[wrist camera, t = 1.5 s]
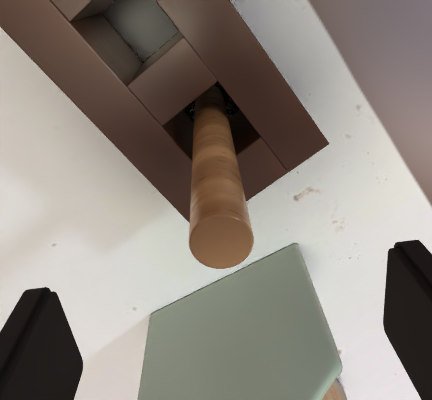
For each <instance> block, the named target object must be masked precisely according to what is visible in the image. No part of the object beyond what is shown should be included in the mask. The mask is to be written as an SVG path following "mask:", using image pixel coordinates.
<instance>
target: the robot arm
mask: <svg viewBox="0 0 432 400" xmlns="http://www.w3.org/2000/svg"><path fill="white" fill-rule="evenodd" d="M383 325H384V330H385V333H386V335H387V337H388V339H389V341H390V343H391V344H392V346H393V348H394V350H395V352H396V354H397V355H398V357H399V359H400V361H401V363H402V365H403V366H404V368H405V370H406V372H407V374H408V376H409V377H410V379H411V381H412V383H413V385H414V387H415V389H416V390H417V392H418V394H419V396H420V398H421V400H432V254H431V253H430V252H429V251H428V250H427V248H426V247H425V246H424V245H423V244H422V243H421V242H420V241H419V240H412V241H404V242H397V243H395V245H394V248H391V249H389V251H388V260H387V275H386V289H385V303H384V317H383ZM82 370H83V361H82V357H81V355H80V352H79V349H78V347H77V344H76V342H75V339H74V336H73V334H72V331H71V329H70V326H69V324H68V321H67V318H66V316H65V313H64V311H63V308H62V305H61V303H60V300H59V298H58V295H57V293H56V292H51V291H50V289H49V288H47V287H44V288H37V289H29V290H26V291H24V293H23V294H22V296H21V298H20V299H19V301H18V303H17V304H16V306H15V308H14V310H13V311H12V313H11V315H10V316H9V318H8V320H7V322H6V323H5V325H4V327H3V328H2V330H1V332H0V400H74V397H75V394H76V391H77V387H78V384H79V381H80V378H81V374H82Z"/></svg>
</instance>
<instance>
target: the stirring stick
mask: <svg viewBox="0 0 432 400" xmlns="http://www.w3.org/2000/svg"><path fill="white" fill-rule="evenodd" d="M253 242H254V238H253V232H252V228H251V223H250V218H249V214H248V209H247V204H246V200H245V195H244V190H243V186H242V181H241V176H240V172H239V167H238V162H237V158H236V153H235V148H234V144H233V139H232V134H231V130H230V125H229V120H228V116H227V111H226V106H225V102H224V97H223V94H222V92H221V90H220V89H219V88H218V87H216V86H214V85H212V86H211V87H210V88H209V89H208V90H206V91H205V92H204V93H203V94H201V95H200V96H199V97H198V98H196V99H195V108H194V132H193V156H192V180H191V204H190V228H189V247H190V250H191V252H192V254H193V256H194V257H195V258H196V259H197V260H198V261H199V262H200V263H202V264H204V265H205V266H208V267H211V268H216V269H225V268H230V267H233V266H236V265H238V264H239V263H241V262H242V261H244V260H245V259H246V258H247V256H248V255H249V254H250V252H251V250H252V247H253Z"/></svg>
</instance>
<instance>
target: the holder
mask: <svg viewBox="0 0 432 400" xmlns="http://www.w3.org/2000/svg"><path fill="white" fill-rule="evenodd" d="M114 1H115V0H0V27H1V28H2V29H3V30H4V31H5V32H6V33H7V34H8V35H9V36H10V37H11V38H12V39H13V40H14V41H15V42H16V43H17V44H18V46H19V47H20V48H21V49H22V50H23V51H24V52H25V53H26V54H27V55H28V56H29V57H30V58H31V59H32V60H33V61H34V62H35V63H36V64H37V65H38V66H39V67H40V68H41V69H42V70H43V71H44V72H45V74H46V75H47V76H48V77H49V78H50V79H51V80H52V81H53V82H54V83H55V84H56V85H57V86H58V87H59V88H60V89H61V90H62V91H63V92H64V93H65V94H66V95H67V96H68V97H69V98H70V99H71V100H72V102H73V103H74V104H75V105H76V106H77V107H78V108H79V109H80V110H81V111H82V112H83V113H84V114H85V115H86V116H87V117H88V118H89V119H90V120H91V121H92V122H93V123H94V124H95V125H96V126H97V127H98V128H99V130H100V131H101V132H102V133H103V134H104V135H105V136H106V137H107V138H108V139H109V140H110V141H111V142H112V143H113V144H114V145H115V146H116V147H117V148H118V149H119V150H120V151H121V152H122V153H123V154H124V155H125V156H126V158H127V159H128V160H129V161H130V162H131V163H132V164H133V165H134V166H135V167H136V168H137V169H138V170H139V171H140V172H141V173H142V174H143V175H144V176H145V177H146V178H147V179H148V180H149V181H150V182H151V183H152V184H153V186H154V187H155V188H156V189H157V190H158V191H159V192H160V193H161V194H162V195H163V196H164V197H165V198H166V199H167V200H168V201H169V202H170V203H171V204H172V205H173V206H174V207H175V208H176V209H177V210H178V211H179V212H180V214H181V215H182V216H183V217H184V218H185V219H186V220H187V221H188V222H189V223H190V204H191V180H192V156H193V132H194V123H193V121H192V120H191V119H190V118H189V117H188V115H187V114H186V113H185V112H184V111H183V109H184V108H185V107H187V106H188V105H189V104H190V103H191V102H193V101H194V100H195V99H196V98H198V97H199V96H200V95H201V94H203V93H204V92H205V91H206V90H208V89H209V88H210V87H211V86H212V85H214V84H215V83H216V82H217V80H218V82H219V83H220V84H221V86H222V87H223V88H224V89H225V91H226V92H227V93H228V95H229V96H230V97H231V98H232V100H233V101H234V102H235V104H236V105H237V106H238V108H239V109H240V110H239V111H237V112H236V113H235V114H233V115H232V116H231V117H230V118H228V120H229V125H230V130H231V134H232V139H233V144H234V148H235V153H236V158H237V162H238V167H239V172H240V176H241V181H242V186H243V190H244V195H245V200H246V201H248V200H249V199H250V198H252V197H253V196H255V195H256V194H258V193H259V192H261V191H262V190H263V189H265V188H266V187H268V186H269V185H271V184H272V183H273V182H275V181H276V180H278V179H279V178H281V177H282V176H283V175H285V174H286V173H288V172H290V171H291V170H292V169H294V168H295V167H297V166H298V165H300V164H301V163H303V162H304V161H305V160H307V159H308V158H310V157H311V156H313V155H314V154H315V153H317V152H318V151H320V150H321V149H323V148H324V147H325V146H327V145H328V144H329V143H328V141H327V140H326V138H325V137H324V135H323V134H322V132H321V131H320V130H319V128H318V127H317V125H316V124H315V122H314V121H313V120H312V118H311V117H310V115H309V114H308V112H307V111H306V109H305V108H304V107H303V105H302V104H301V102H300V101H299V99H298V98H297V97H296V95H295V94H294V92H293V91H292V89H291V88H290V86H289V85H288V84H287V82H286V81H285V79H284V78H283V76H282V75H281V73H280V72H279V71H278V69H277V68H276V66H275V65H274V63H273V62H272V61H271V59H270V58H269V56H268V55H267V53H266V52H265V50H264V49H263V48H262V46H261V45H260V43H259V42H258V40H257V39H256V38H255V36H254V35H253V33H252V32H251V30H250V29H249V27H248V26H247V25H246V23H245V22H244V20H243V19H242V17H241V16H240V14H239V13H238V12H237V10H236V9H235V7H234V6H233V4H232V3H231V2H230V0H156V1H157V3H158V4H159V5H160V7H161V8H162V9H163V11H164V12H165V13H166V14H167V16H168V17H169V18H170V20H171V21H172V22H173V23H174V25H175V26H176V27H177V29H178V30H179V32H178V33H177V34H176V35H174V36H173V37H172V38H171V39H170V40H169V41H168V42H166V43H165V44H164V45H163V46H162V47H161V48H160V49H159V50H157V51H156V52H155V53H154V54H153V55H152V56H151V57H149V58H148V59H147V60H146V61H145V62H144V63H143V62H142V61H141V60H140V58H139V57H138V56H137V55H136V54H135V52H134V51H133V50H132V49H131V48H130V47H129V45H128V44H127V43H126V42H125V41H124V39H123V38H122V37H121V36H120V35H119V33H118V32H117V31H116V30H115V29H114V28H113V26H112V25H111V24H110V23H109V22H108V20H107V19H106V18H105V17H104V16H103V14H102V13H103V12H104V11H105V10H106V9H107V8H108V7H109V6H110V5H111V4H112V3H113V2H114Z"/></svg>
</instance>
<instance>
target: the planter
mask: <svg viewBox="0 0 432 400" xmlns="http://www.w3.org/2000/svg"><path fill="white" fill-rule="evenodd" d="M341 372H342V363H341V360H340V357H339V354H338V351H337V348H336V344H335V341H334V339H333V336H332V333H331V331H330V328H329V325H328V323H327V320H326V317H325V315H324V312H323V310H322V307H321V304H320V302H319V299H318V296H317V294H316V291H315V288H314V286H313V283H312V280H311V278H310V275H309V273H308V270H307V267H306V265H305V262H304V259H303V257H302V254H301V251H300V249H299V246H298V245H297V244H292V245H290V246H288V247H286V248H284V249H282V250H280V251H278V252H276V253H274V254H272V255H270V256H268V257H266V258H264V259H262V260H260V261H258V262H256V263H253V264H251V265H249V266H247V267H245V268H243V269H241V270H239V271H237V272H235V273H233V274H231V275H229V276H227V277H225V278H223V279H221V280H219V281H217V282H215V283H213V284H211V285H209V286H207V287H205V288H203V289H201V290H199V291H197V292H195V293H193V294H191V295H188V296H186V297H184V298H182V299H180V300H178V301H176V302H174V303H172V304H170V305H168V306H166V307H164V308H162V309H160V310H158V311H156V312H154V313H152V314H151V315H150V320H149V327H148V334H147V341H146V347H145V354H144V361H143V367H142V374H141V381H140V388H139V394H138V400H322V398H323V397H324V395H325V394H326V392H327V391H328V389H329V388H330V386H331V385H332V383H333V382H334V380H335V379H336V378H337V377H338V376H339V375H340V373H341Z"/></svg>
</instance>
